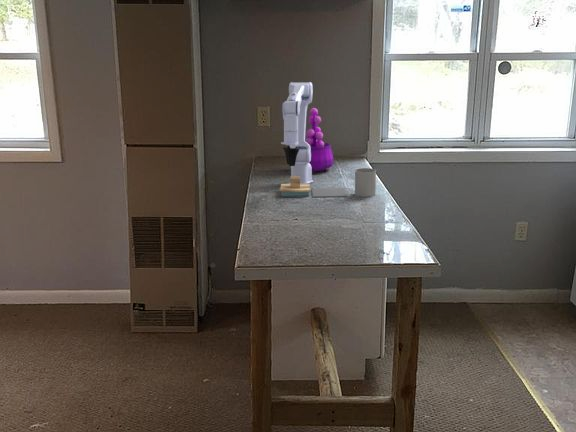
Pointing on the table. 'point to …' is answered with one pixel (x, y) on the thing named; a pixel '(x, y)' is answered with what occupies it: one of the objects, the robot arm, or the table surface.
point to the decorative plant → (318, 145)
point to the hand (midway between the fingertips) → (290, 165)
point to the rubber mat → (329, 192)
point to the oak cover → (295, 185)
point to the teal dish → (295, 194)
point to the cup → (365, 182)
